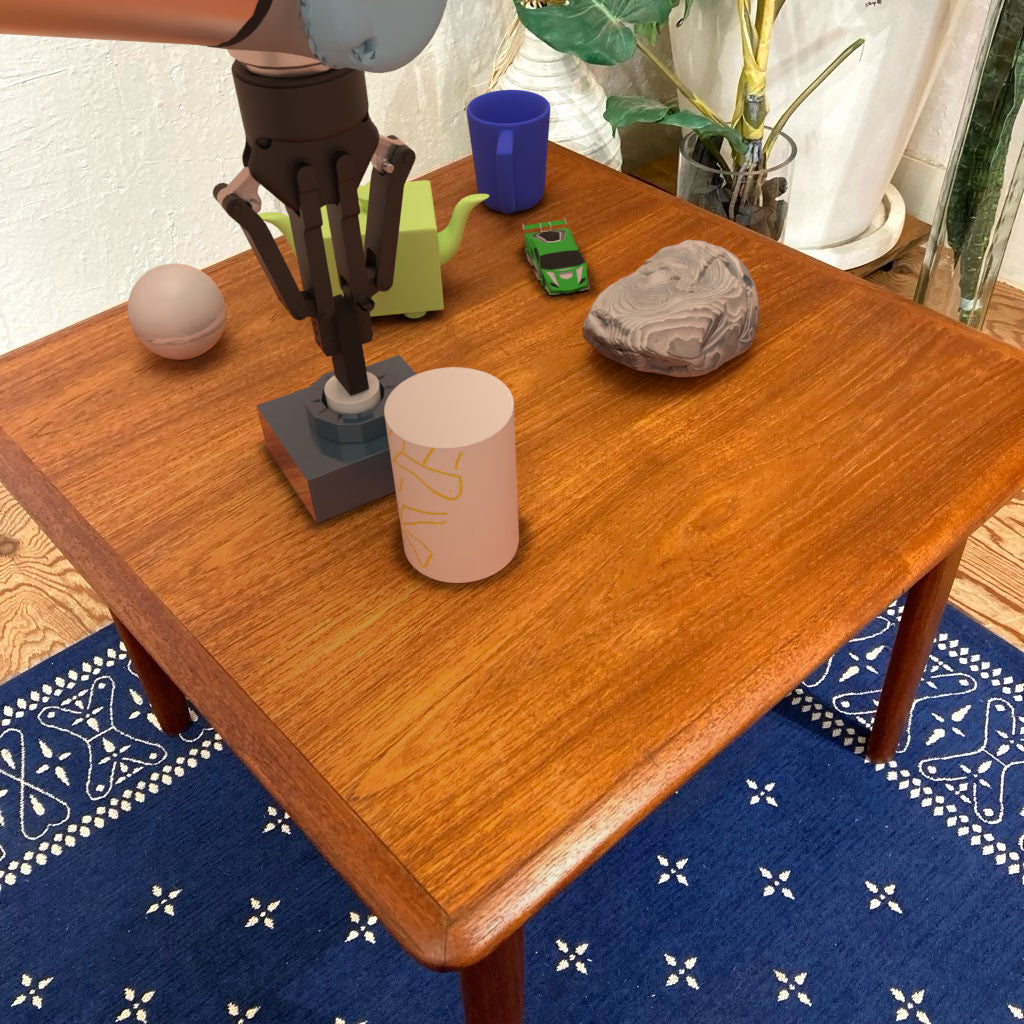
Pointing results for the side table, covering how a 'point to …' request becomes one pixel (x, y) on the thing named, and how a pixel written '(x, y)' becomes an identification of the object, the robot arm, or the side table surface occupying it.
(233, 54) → the robot arm
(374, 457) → the push button box
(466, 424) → the doodled pink cylinder
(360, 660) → the side table surface
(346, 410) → the button
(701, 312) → the decorative stone
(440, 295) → the teapot
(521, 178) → the mug
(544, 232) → the toy car
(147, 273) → the bath bomb
